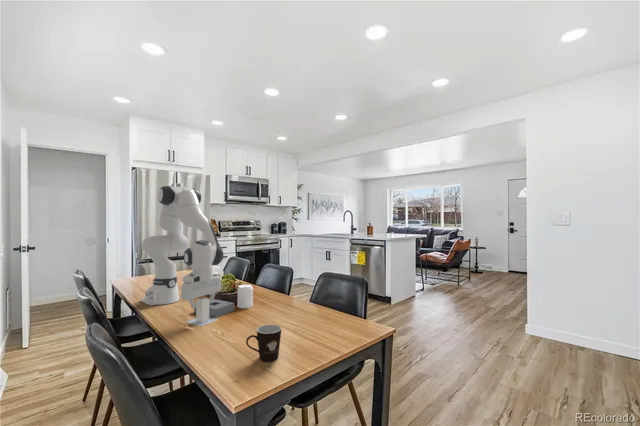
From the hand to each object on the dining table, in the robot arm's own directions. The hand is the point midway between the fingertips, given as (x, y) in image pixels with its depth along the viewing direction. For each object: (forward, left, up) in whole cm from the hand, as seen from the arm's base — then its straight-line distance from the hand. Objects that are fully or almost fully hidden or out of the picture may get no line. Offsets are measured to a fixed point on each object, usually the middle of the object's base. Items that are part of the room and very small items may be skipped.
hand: (202, 305), depth 139 cm
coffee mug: (+48, -14, -8) cm, 51 cm away
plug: (0, 0, -7) cm, 7 cm away
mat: (0, 0, -8) cm, 8 cm away
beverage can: (+1, +27, -8) cm, 29 cm away
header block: (-6, +12, -8) cm, 16 cm away
